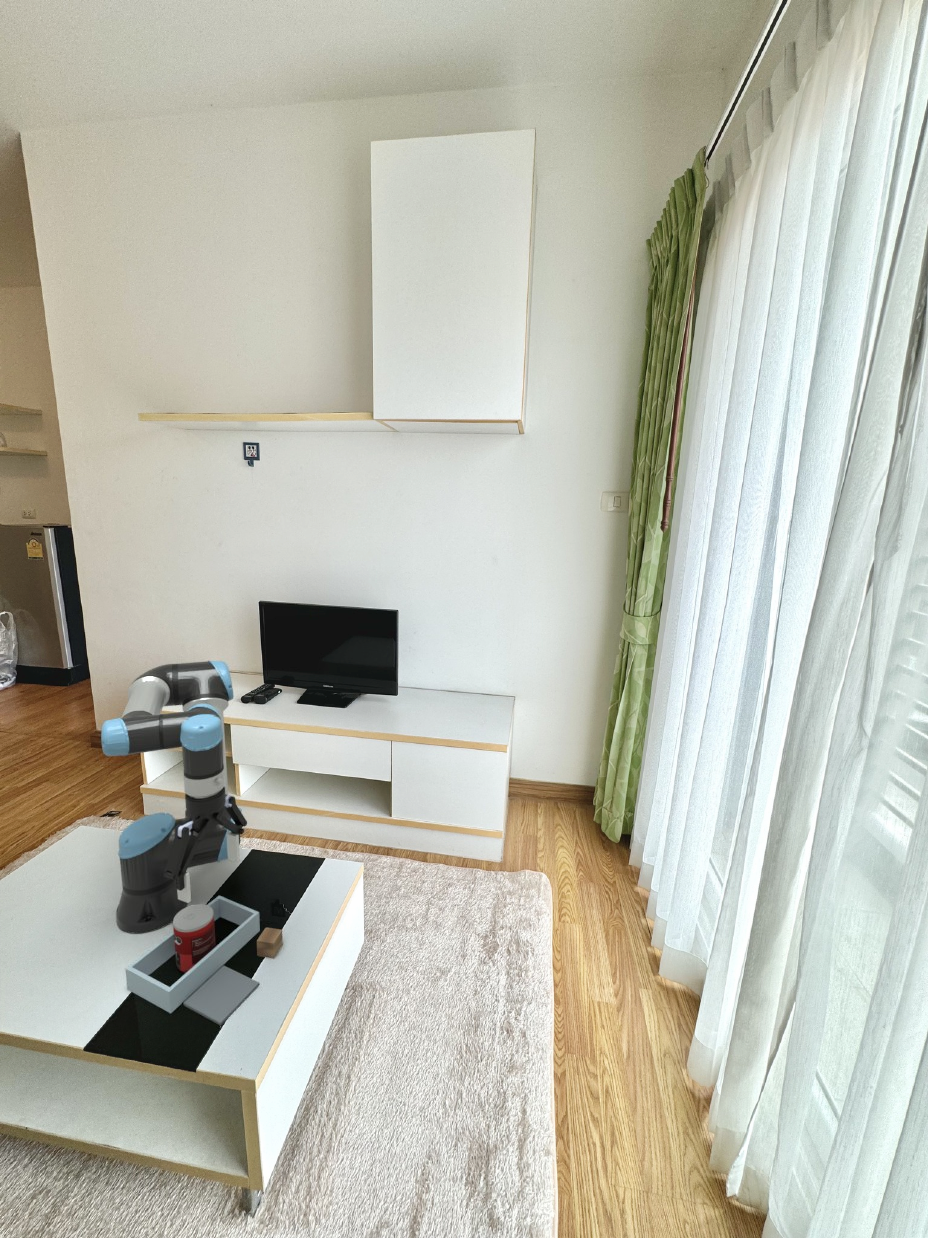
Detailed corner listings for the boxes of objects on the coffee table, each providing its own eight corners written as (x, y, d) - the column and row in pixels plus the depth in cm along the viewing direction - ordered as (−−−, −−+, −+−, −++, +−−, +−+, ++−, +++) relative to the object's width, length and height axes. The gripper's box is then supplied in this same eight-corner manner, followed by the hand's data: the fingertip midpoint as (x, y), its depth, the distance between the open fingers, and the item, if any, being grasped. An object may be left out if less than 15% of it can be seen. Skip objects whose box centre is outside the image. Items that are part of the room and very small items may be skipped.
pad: (183, 1005, 107) (183, 1003, 107) (223, 967, 116) (223, 965, 116) (220, 1025, 103) (220, 1023, 103) (259, 985, 112) (259, 982, 112)
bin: (127, 989, 110) (125, 968, 109) (220, 913, 131) (219, 895, 130) (170, 1013, 105) (169, 992, 104) (259, 930, 127) (259, 912, 126)
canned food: (184, 946, 121) (181, 904, 119) (221, 945, 122) (219, 903, 120) (169, 975, 114) (165, 930, 112) (208, 974, 114) (205, 929, 112)
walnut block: (257, 956, 120) (256, 941, 119) (266, 942, 123) (265, 927, 123) (274, 959, 119) (273, 943, 118) (282, 945, 123) (282, 930, 122)
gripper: (167, 827, 98) (175, 925, 103) (261, 766, 121) (264, 849, 126) (137, 817, 101) (146, 913, 105) (235, 760, 124) (238, 841, 128)
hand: (210, 879), depth 115 cm, fingers open, 13 cm apart
